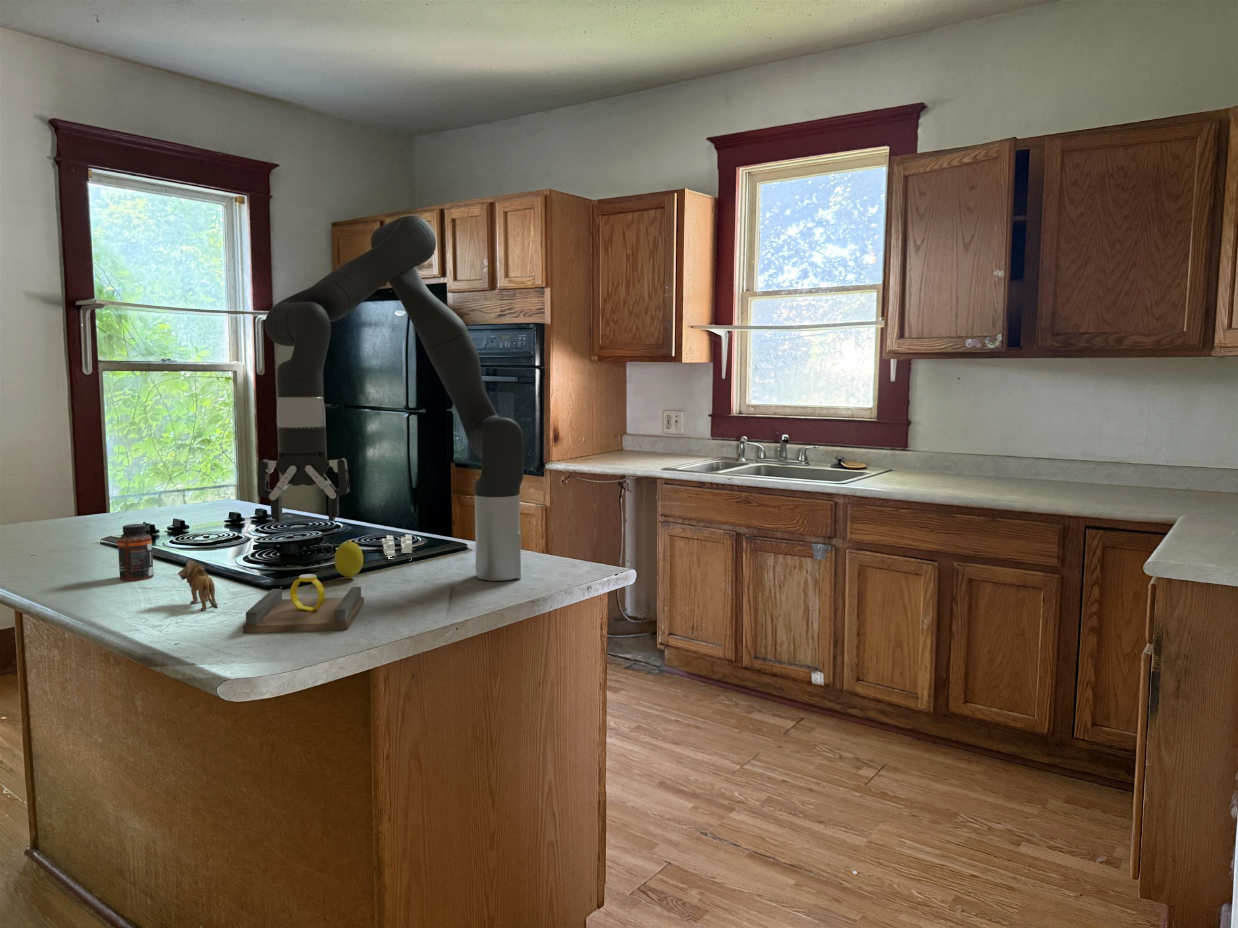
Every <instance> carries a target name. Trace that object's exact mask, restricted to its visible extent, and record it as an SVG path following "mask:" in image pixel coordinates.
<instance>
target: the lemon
mask: <svg viewBox="0 0 1238 928" xmlns="http://www.w3.org/2000/svg"><path fill="white" fill-rule="evenodd" d="M363 564H364V555H363V551H362V548H361V546H359V545H358V544H357V543H355V542H352V541H351V540H349V539H348V540H346V541H345V542H342V543H341V544H340V545H339V546H337V549H336V551H335V553H334V565H335V569H336V571H337V572H338V574H339V575H341V576H344V577H345V578H347V579H348V580H351V579H352V578H353V577H354V576H356V575H357V574H359V573H360V571H361V570H362V568H363Z"/></svg>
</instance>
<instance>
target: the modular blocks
mask: <svg viewBox="0 0 1238 928" xmlns="http://www.w3.org/2000/svg"><path fill="white" fill-rule="evenodd" d="M385 536H386V538H381V545H382V544H383V547H384V549H383V555H384V554H385V555H387V556H386V558H387V557H388V559H393V560H394V558H390V557H392V556H395V557H396V551H395V548H396V547H395V541H394V540H395V538H394V535H389V534H387V535H385ZM401 546H402V549H401V554H402V553H412V554H413V538H412V534H408V533H407V534H405V537H400V547H401ZM383 547H382V548H383ZM385 555H384V556H385ZM410 561H412V558H411V560H410Z"/></svg>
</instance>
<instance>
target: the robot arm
mask: <svg viewBox="0 0 1238 928" xmlns="http://www.w3.org/2000/svg"><path fill="white" fill-rule="evenodd" d="M436 246H437V239H436V235H435V232H434V230H433V228H432V226H431V225H430V224H429V222H428V221H427V220H426V219H424V218H422V217H420V216H417V215H413V214H412V215H410V214H409V215H403V216H401V217H398V218H396V219H394V220H392V221H390V222H387V223H385V224H383V225H382V226H379V227H378V228H376V229H375V230H374V231H373V232H372V234H371V237H370V249H369V250H368V251H366V252H364V253H363V254H361V255H358V256H357V257H355V258H353V259H351V260H349V261H348V262H346V263H344V264H342V265H341V266H339V267H337V268H336V269H334V270H332V271H331V272H330V273H328V274H327V275H326V276H324V277H323V278H321V279H320V280H318V281H317V282H315V284H313V285H312V286H311V287H308V288H307V289H304V290H301V291H299V292H297V293H295V294H293V295H290V296H288V297H286V298H284V299H282V300H280V301H278V302H277V303H276V304H274V305H273V306H272V307H271V308H270V310H269V311H268V313H267V314H266V316H265V320H264V329H265V332H266V335H267V337H268V338H269V339H270V340H271V341H272V342H273V343H275V344H277V345H279V346H284V347H293V350H292V354H291V358H290V359H288V360H285V361H282V362H281V363H280V364H279V365H278V367H277V371H276V381H277V382H276V384H277V407H276V425H277V446H278V448H277V450H278V451H277V452H278V458H277V460H269V459H262V460H260V461H258V463H257V496H258V497H262V498H266V499H269V501H270V517H271V519H272V520H274V522H275V524H277V523H282V522H283V519H284V516H283V499H282V498H281V496H282V494H283V493H284V492H285V491H286V489H287V488H288V487H289V486H290V485H291V486H294V487H298V486H303V485H304V486H308V487H309V486H314V485H317V486H318V487H319V488H320V489H321V490H323V492H324V493H325V494H326V495H327V496H328V499H327V511H328V512H327V513H328V521H329V522H334V521H335V520H336V518H338V517H339V515H340V505H339V500H340V497H342V496H344V495H346V494H348V493H349V492H350V480H349V471H348V470H349V468H348V461H347V459H346V458H344V457H342V458H340V459H329V457H328V452H327V451H328V449H327V425H326V422H327V421H326V408H325V403H324V401H325V400H324V388H323V386H324V385H323V369H324V366H325V363H326V358H327V353H328V349H329V345H330V341H331V332H332V328H331V327H332V326H331V322H332V323H333V322H336V321H339V320H341V319H342V318H344V317H346V315H348V314H349V313H350V312H352V311H353V310H354V309H356V308H357V307H358V306H359V305H360V304H362V303H363V302H365V300H367V299H368V298H369V297H370V296H371V295H373V294H374V293H375V292H376V291H378V290H379V289H380V288H382V287H383V286H384V285H386V284H387V283H389V285H390V287H391V289H392V290H393V291H394V293H395V295H396V296H397V298H398V299H399V301H400V303H401V304H402V306H403V308H404V310H405V312H406V314H407V315H408V318H409V319H410V321H411V323H412V325H413V327H414V329H415V331H416V333H417V335H418V336H419V339H420V341H421V343H422V346H423V348H424V350H425V352H426V354H427V356H428V358H429V360H430V362H431V364H432V367H434V370H435V371H436V373H437V375H438V377H439V379H440V381H441V383H442V385H443V387H444V389H445V391H446V392H447V395H448V396H449V398H450V399H451V401H452V403H453V406H454V409H456V412H457V415H458V417H459V421H460V423H461V425H462V428H463V431H464V433H465V436H466V437H465V438H466V439H467V442H468V444H469V446H470V448H471V450H472V451H473V453H474V454H475V455H476V456H477V457H479V458H480V459H481V472H480V475H479V478H478V479H477V480H476V481H475V483H474V510H475V511H474V518H475V519H474V522H475V524H474V525H475V528H474V529H475V530H474V531H475V577H476V578H477V579H478V580H485V581H492V582H493V581H496V582H497V581H509V580H516V579H521V578H522V573H521V572H522V570H521V569H522V566H521V565H522V564H521V563H522V562H521V561H522V560H521V559H522V558H521V557H522V556H521V555H522V553H521V551H522V549H521V545H522V544H521V536H522V535H521V505H520V504H521V494H520V493H521V492H520V491H521V485H522V482H523V479H524V472H525V471H524V470H525V469H524V468H525V439H524V437H525V436H524V434H523V433H524V432H523V429H522V428H521V426H520V425H519V423H518V422H516V421H515V420H514V419H511V418H509V417H502V416H501V417H500V415H499V414H498V413H497V412H496V409H495V407H494V406H493V404H492V402H491V401H490V398H489V396H488V394H487V392H486V389H485V386H484V380H483V374H482V368H481V361H480V355H479V353H478V349H477V347H476V345H475V343H474V340H473V339H472V336H471V334H470V333H469V330H468V328H467V326H466V324H465V322H464V321H463V320H462V318H460V316H458V314H457V313H455V311H453V310H452V309H451V308H449V306H447V305H446V304H445V303H444V302H442V301H441V300H440V299H439V298H437V296H435V295H434V294H433V293H432V292H431V291H430V290H429V288H428V286H427V285H426V284H425V282H424V280H423V278H422V276H421V275H420V273H419V271H418V269H417V267H419V266H421V265H423V264H424V263H426V262H427V261H429V260H430V259H431V258H432V257H433V255H434V253H435V251H436ZM330 467H331V468H332V469H333V471H334V472H335V473H337V475H338V476H337V477H338V478H337V479H338V487H339V488H336V487H335V486H334V484H333V483H332V482H331V480H330V479H329V478H328V476H327V475H326V473H327V471H328V470H329V468H330ZM275 468H276V469H277V470H278V472H279V473H280V475H281V476H282V477H281V478H280V480H278V482H277V484H275V487H274V488H273V490H272V489H270V474H271V473H273V472H274V469H275Z"/></svg>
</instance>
